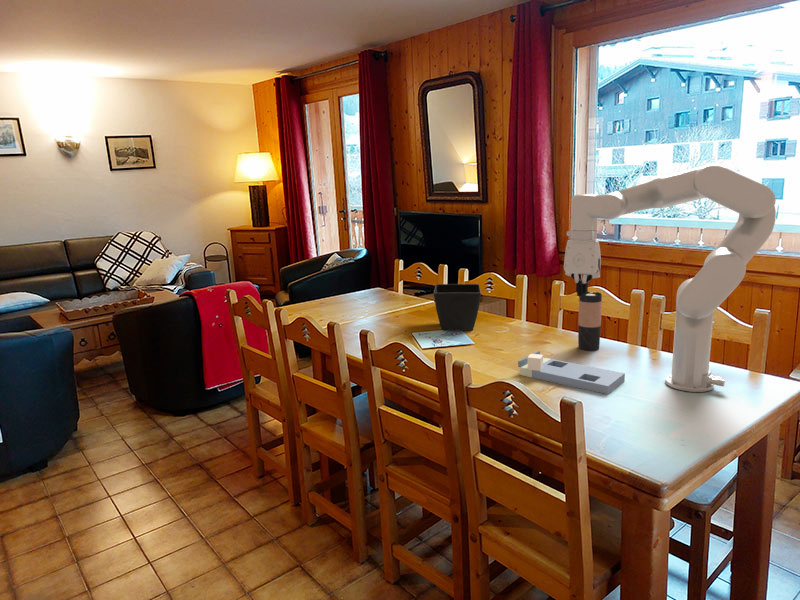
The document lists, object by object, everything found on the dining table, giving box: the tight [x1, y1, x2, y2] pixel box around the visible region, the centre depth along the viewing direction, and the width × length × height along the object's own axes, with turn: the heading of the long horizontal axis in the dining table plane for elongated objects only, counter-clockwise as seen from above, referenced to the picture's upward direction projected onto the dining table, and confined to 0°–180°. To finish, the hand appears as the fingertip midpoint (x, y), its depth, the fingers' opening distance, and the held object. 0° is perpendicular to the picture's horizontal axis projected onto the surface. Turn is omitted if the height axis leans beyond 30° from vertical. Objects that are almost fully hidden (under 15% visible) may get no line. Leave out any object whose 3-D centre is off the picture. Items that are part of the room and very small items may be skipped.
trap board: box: [517, 350, 626, 395], centre depth 175 cm, size 29×13×4 cm, turn 49°
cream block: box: [527, 353, 544, 371], centre depth 178 cm, size 4×4×4 cm
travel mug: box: [577, 291, 603, 352], centre depth 202 cm, size 8×8×20 cm
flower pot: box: [433, 283, 482, 331], centre depth 237 cm, size 19×19×17 cm
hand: (581, 295), depth 174 cm, fingers closed
